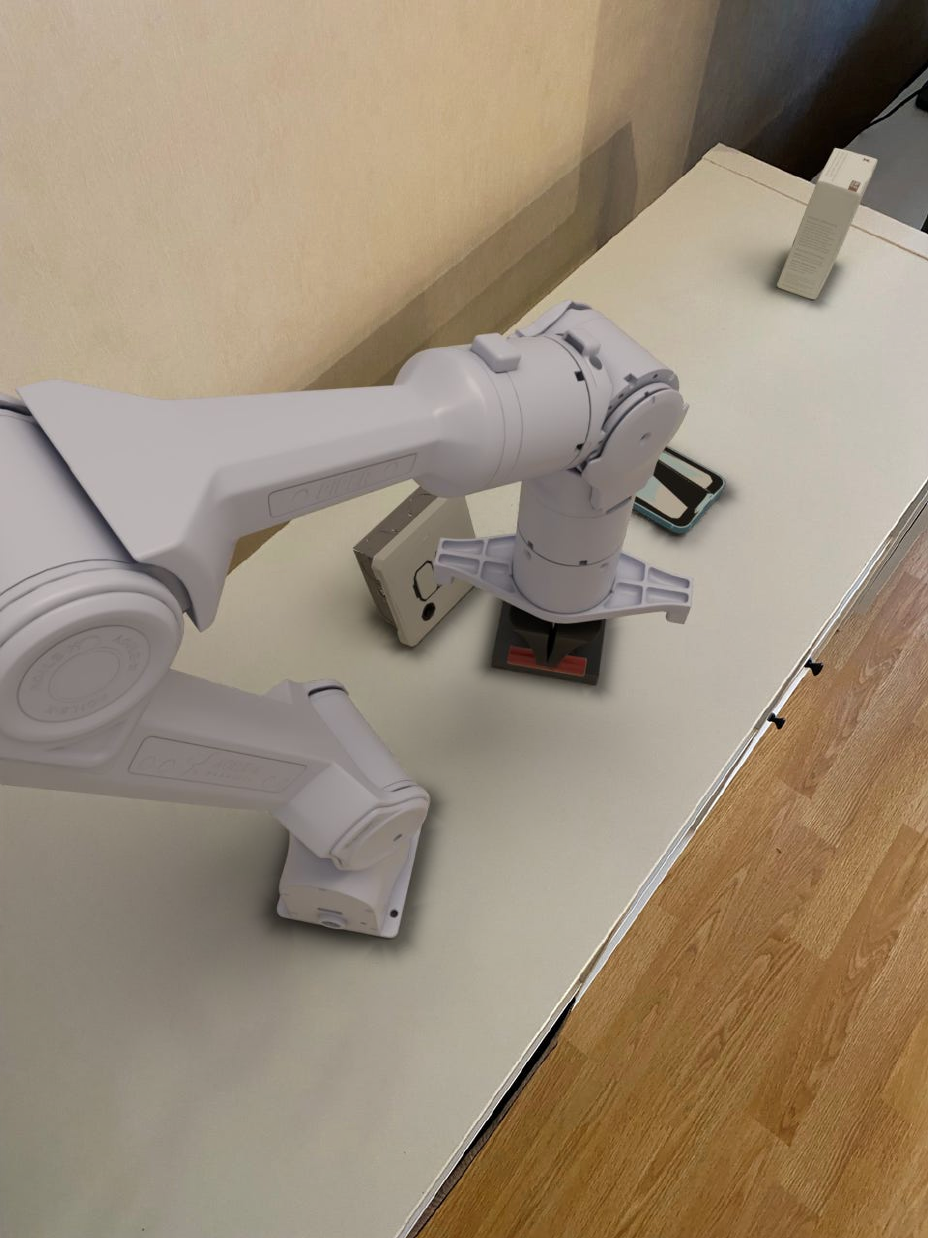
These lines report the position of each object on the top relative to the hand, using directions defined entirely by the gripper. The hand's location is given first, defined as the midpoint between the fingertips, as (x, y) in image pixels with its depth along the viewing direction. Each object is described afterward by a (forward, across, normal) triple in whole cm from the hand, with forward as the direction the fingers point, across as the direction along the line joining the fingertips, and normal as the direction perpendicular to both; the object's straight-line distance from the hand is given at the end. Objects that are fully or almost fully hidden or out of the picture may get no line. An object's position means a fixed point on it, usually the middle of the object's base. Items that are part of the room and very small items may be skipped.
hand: (548, 653), depth 62 cm
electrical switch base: (+10, 0, -9) cm, 14 cm away
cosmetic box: (+10, -20, -54) cm, 59 cm away
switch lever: (+4, 0, -5) cm, 6 cm away
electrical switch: (+10, +10, -9) cm, 17 cm away
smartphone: (+10, -4, -25) cm, 28 cm away
